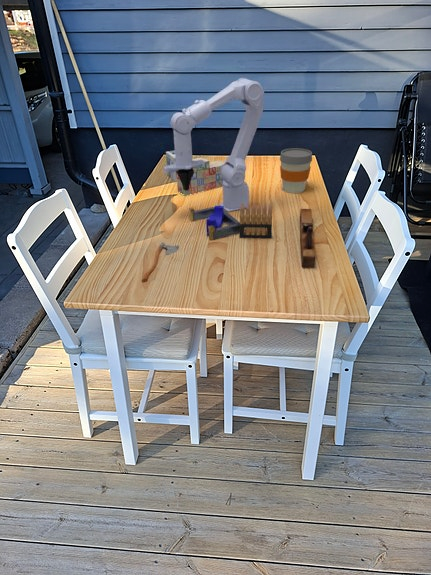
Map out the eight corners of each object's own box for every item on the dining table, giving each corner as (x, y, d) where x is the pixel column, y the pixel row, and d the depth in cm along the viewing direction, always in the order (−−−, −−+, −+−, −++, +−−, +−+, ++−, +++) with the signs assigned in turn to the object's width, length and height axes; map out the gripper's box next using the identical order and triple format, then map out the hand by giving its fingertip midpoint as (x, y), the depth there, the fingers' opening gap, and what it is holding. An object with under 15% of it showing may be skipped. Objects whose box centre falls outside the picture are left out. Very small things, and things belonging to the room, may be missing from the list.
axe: (163, 284, 119) (162, 278, 118) (141, 283, 120) (140, 278, 119) (180, 246, 138) (179, 241, 137) (161, 246, 139) (160, 241, 138)
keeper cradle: (218, 213, 158) (218, 201, 155) (242, 232, 144) (242, 220, 141) (189, 219, 153) (188, 208, 151) (210, 240, 140) (210, 227, 137)
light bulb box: (167, 175, 194) (165, 151, 188) (181, 172, 196) (179, 149, 190) (175, 182, 186) (173, 157, 180) (189, 179, 188) (188, 155, 182)
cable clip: (211, 220, 153) (211, 205, 149) (223, 221, 152) (223, 206, 148) (202, 236, 143) (201, 219, 140) (215, 237, 142) (215, 220, 139)
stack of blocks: (220, 181, 186) (219, 152, 179) (228, 185, 182) (228, 156, 175) (177, 192, 177) (175, 162, 170) (184, 196, 172) (182, 166, 165)
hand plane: (319, 269, 124) (323, 238, 118) (301, 269, 124) (304, 238, 118) (310, 219, 152) (313, 192, 146) (295, 219, 152) (297, 192, 147)
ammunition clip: (271, 236, 141) (273, 202, 135) (271, 238, 140) (273, 204, 133) (239, 235, 142) (239, 201, 136) (239, 238, 141) (239, 204, 134)
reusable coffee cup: (309, 184, 179) (312, 148, 171) (309, 195, 169) (312, 157, 161) (279, 183, 181) (281, 147, 173) (277, 194, 171) (279, 157, 163)
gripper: (167, 157, 138) (170, 197, 146) (207, 150, 143) (209, 189, 151) (160, 152, 143) (163, 190, 151) (199, 145, 148) (201, 183, 156)
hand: (186, 189), depth 151 cm, fingers closed
